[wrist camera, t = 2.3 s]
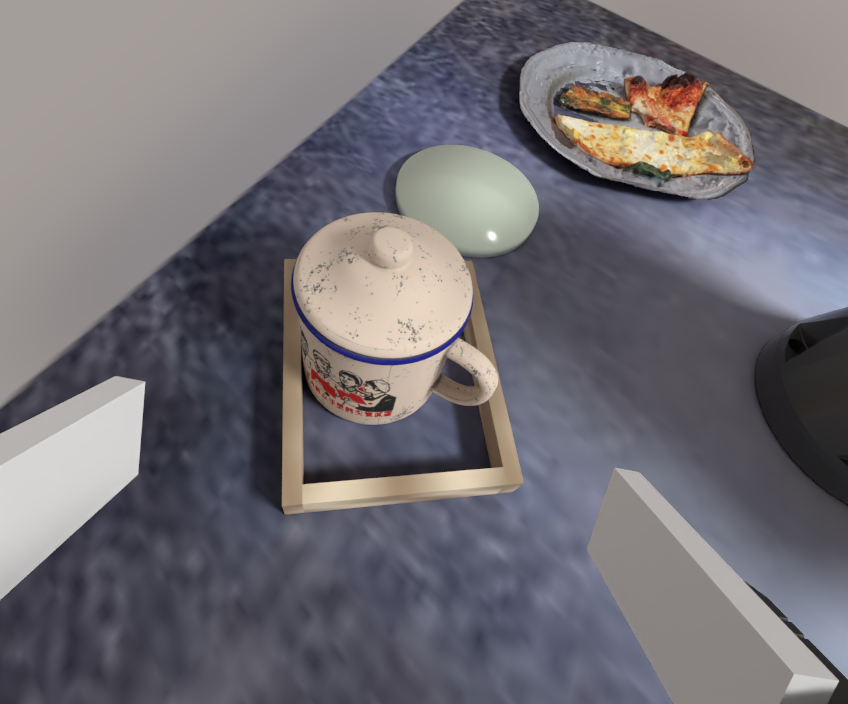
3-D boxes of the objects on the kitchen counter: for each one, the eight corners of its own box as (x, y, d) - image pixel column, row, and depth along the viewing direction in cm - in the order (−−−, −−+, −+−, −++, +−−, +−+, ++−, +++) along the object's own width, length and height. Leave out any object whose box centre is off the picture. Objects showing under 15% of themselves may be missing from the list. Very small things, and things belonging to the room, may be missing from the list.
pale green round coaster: (517, 158, 45) (520, 149, 44) (550, 258, 39) (555, 250, 38) (388, 150, 42) (389, 140, 41) (403, 256, 36) (405, 248, 35)
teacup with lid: (268, 376, 30) (238, 247, 20) (356, 285, 34) (368, 144, 24) (431, 488, 28) (488, 408, 18) (501, 377, 33) (577, 264, 23)
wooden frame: (465, 278, 36) (472, 260, 35) (512, 491, 29) (523, 483, 27) (286, 277, 34) (284, 258, 32) (284, 514, 26) (281, 506, 24)
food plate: (718, 91, 57) (739, 61, 54) (765, 233, 46) (795, 205, 43) (515, 46, 56) (524, 13, 53) (508, 181, 44) (520, 148, 41)
